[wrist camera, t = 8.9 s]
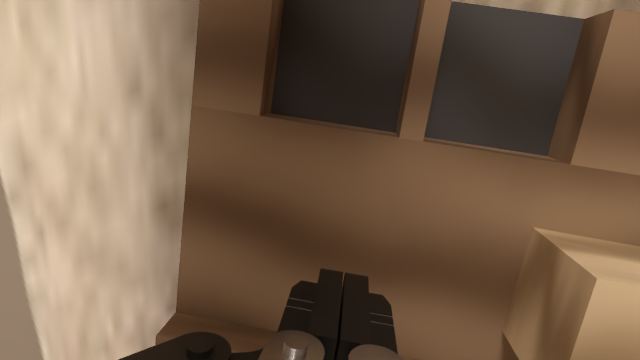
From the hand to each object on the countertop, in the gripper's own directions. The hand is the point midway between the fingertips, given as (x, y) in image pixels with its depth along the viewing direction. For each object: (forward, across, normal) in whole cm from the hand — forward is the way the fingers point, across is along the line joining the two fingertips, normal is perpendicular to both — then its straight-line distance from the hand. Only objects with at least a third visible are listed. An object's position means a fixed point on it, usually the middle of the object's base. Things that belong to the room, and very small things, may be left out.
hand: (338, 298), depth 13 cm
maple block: (+6, -10, +1) cm, 12 cm away
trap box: (+8, -4, -2) cm, 9 cm away
